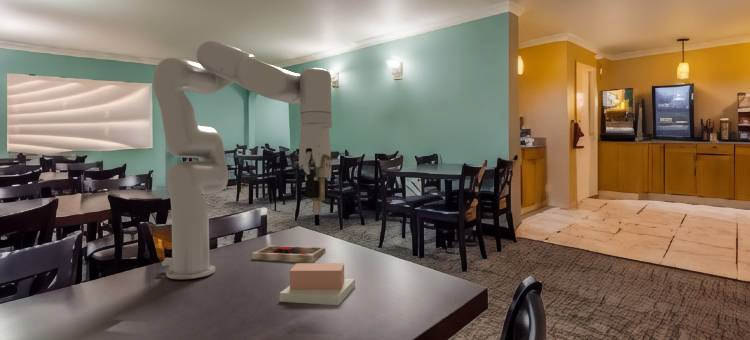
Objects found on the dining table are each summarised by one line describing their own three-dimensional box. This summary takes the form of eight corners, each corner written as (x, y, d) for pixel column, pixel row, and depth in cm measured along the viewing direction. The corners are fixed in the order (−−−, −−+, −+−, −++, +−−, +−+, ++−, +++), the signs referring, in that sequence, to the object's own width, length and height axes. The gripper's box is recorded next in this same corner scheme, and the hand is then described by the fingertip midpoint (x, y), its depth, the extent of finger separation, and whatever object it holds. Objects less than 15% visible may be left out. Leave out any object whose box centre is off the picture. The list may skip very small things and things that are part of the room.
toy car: (301, 267, 126) (301, 250, 126) (266, 262, 133) (265, 246, 133) (314, 262, 132) (314, 247, 132) (279, 258, 138) (279, 243, 138)
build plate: (279, 301, 94) (279, 292, 94) (303, 283, 108) (303, 276, 108) (338, 305, 91) (338, 296, 91) (355, 286, 105) (354, 278, 105)
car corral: (252, 264, 129) (252, 253, 129) (270, 255, 141) (270, 245, 141) (312, 266, 125) (312, 255, 125) (325, 257, 137) (325, 247, 137)
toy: (326, 215, 95) (326, 150, 96) (298, 214, 96) (299, 151, 97) (335, 213, 102) (336, 153, 103) (309, 213, 104) (310, 153, 104)
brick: (290, 289, 96) (289, 270, 96) (296, 281, 103) (296, 263, 103) (341, 289, 96) (341, 270, 96) (344, 281, 103) (344, 263, 103)
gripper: (313, 125, 108) (315, 193, 108) (286, 118, 91) (287, 199, 92) (341, 124, 107) (342, 194, 107) (318, 116, 90) (319, 199, 90)
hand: (317, 195), depth 99 cm, fingers closed on toy, 5 cm apart
